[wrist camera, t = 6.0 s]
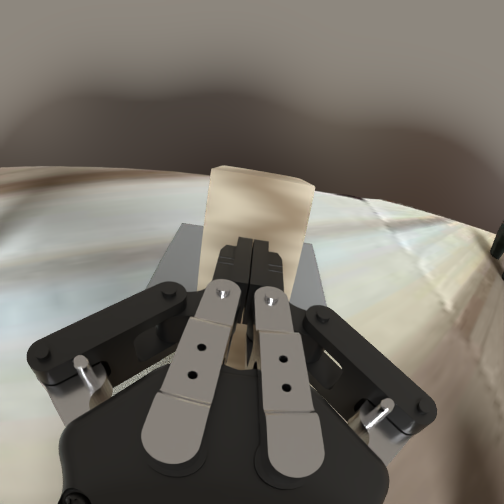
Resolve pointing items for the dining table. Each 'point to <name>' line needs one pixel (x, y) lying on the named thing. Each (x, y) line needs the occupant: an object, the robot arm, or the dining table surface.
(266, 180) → the birch block
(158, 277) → the slate rubber mat
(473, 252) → the dining table surface
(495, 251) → the green animal figurine
